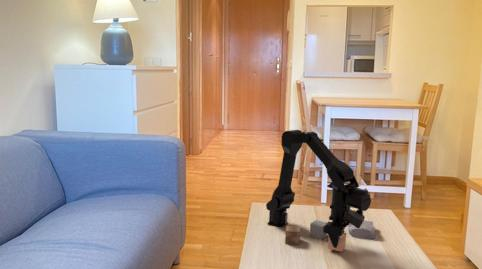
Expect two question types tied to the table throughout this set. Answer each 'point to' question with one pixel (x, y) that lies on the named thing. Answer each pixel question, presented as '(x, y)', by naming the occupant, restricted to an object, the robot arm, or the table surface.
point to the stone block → (362, 230)
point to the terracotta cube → (340, 243)
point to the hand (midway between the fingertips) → (336, 244)
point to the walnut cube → (292, 235)
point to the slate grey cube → (317, 229)
